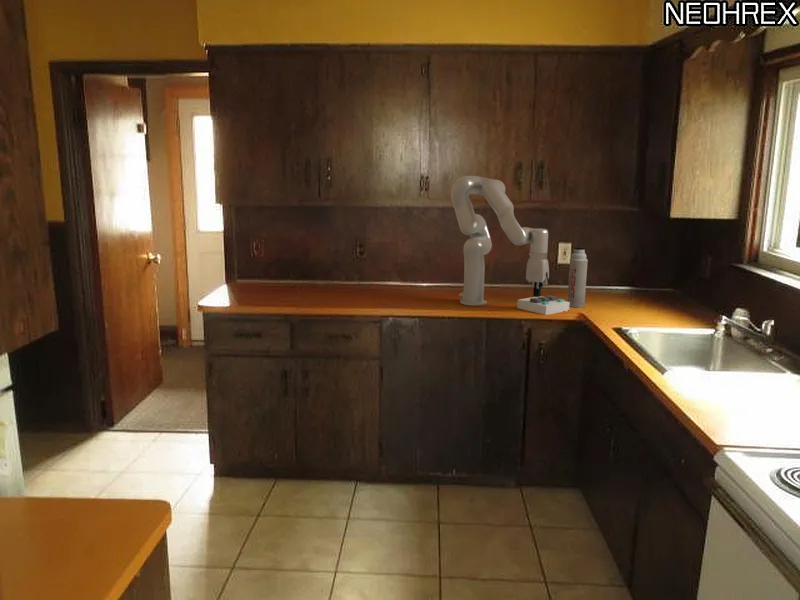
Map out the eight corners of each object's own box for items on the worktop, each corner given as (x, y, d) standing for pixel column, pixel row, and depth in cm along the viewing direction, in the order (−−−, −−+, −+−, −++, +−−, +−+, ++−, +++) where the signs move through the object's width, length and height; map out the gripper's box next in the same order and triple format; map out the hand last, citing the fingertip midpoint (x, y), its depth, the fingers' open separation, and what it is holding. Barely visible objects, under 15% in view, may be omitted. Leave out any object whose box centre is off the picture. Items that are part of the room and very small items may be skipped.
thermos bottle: (573, 308, 307) (577, 248, 301) (563, 304, 314) (567, 246, 309) (587, 307, 310) (592, 247, 304) (577, 303, 317) (581, 245, 312)
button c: (544, 303, 307) (545, 296, 306) (549, 302, 309) (549, 295, 308) (552, 305, 304) (552, 297, 303) (556, 304, 306) (557, 296, 305)
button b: (537, 304, 304) (537, 297, 303) (542, 303, 306) (542, 296, 305) (544, 306, 301) (544, 298, 300) (549, 305, 302) (549, 298, 302)
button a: (529, 306, 301) (530, 298, 300) (534, 305, 303) (534, 297, 302) (536, 307, 298) (537, 300, 297) (541, 306, 299) (541, 299, 299)
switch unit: (517, 308, 305) (517, 297, 304) (540, 304, 315) (541, 293, 314) (545, 314, 292) (546, 303, 291) (569, 310, 302) (569, 299, 301)
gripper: (520, 255, 299) (518, 295, 303) (546, 258, 287) (544, 300, 291) (531, 254, 304) (530, 293, 307) (557, 257, 292) (555, 298, 295)
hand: (536, 296), depth 299 cm, fingers closed
